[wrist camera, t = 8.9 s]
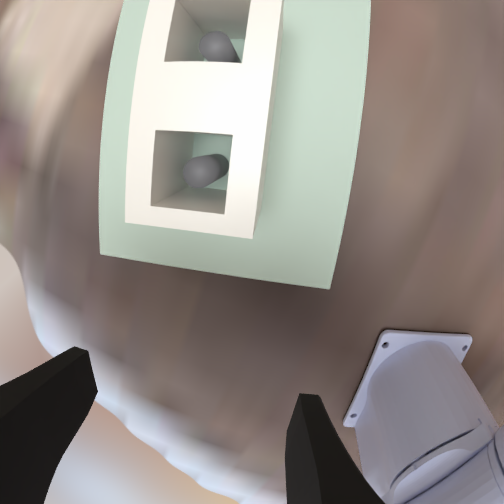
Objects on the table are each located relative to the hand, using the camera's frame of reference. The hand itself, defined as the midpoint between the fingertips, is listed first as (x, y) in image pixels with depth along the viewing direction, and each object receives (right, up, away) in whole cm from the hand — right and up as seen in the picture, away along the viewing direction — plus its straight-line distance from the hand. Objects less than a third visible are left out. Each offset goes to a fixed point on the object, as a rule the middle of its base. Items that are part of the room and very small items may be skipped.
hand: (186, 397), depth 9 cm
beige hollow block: (+1, +11, +4) cm, 12 cm away
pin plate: (+1, +12, +6) cm, 13 cm away
